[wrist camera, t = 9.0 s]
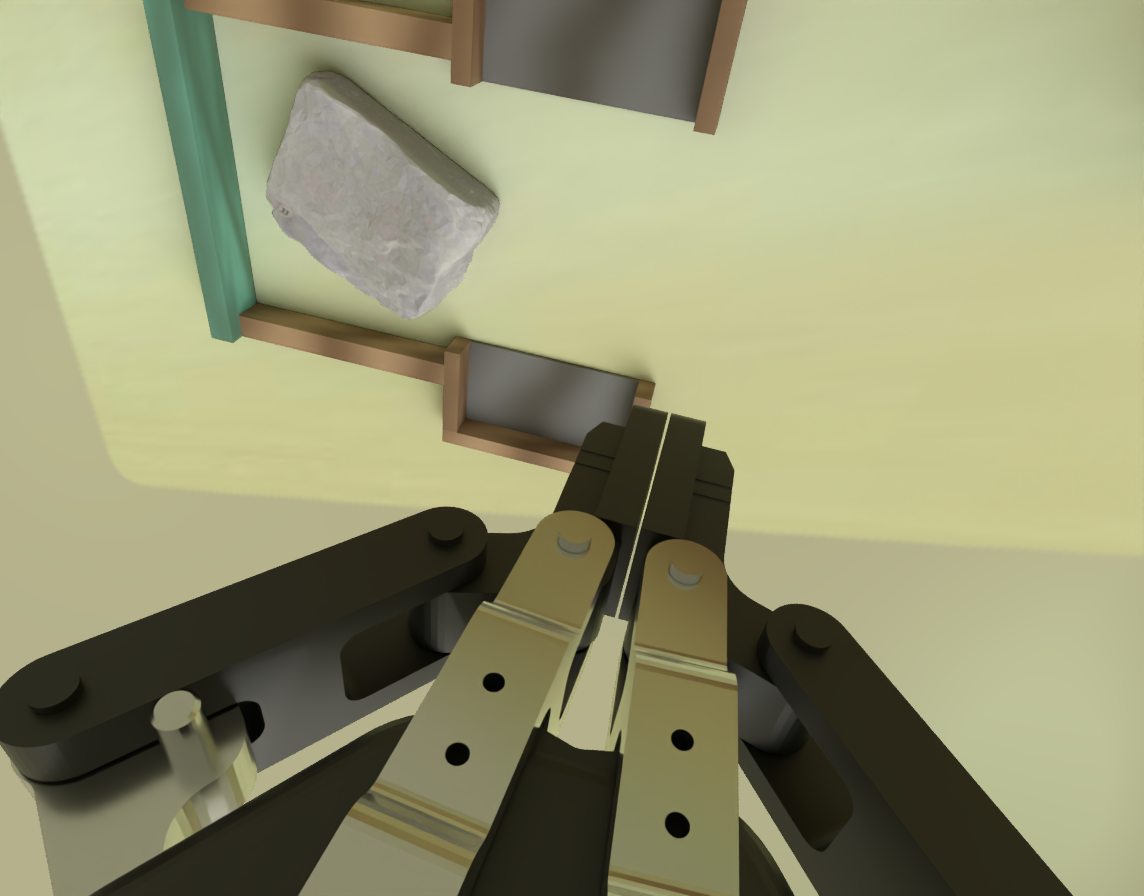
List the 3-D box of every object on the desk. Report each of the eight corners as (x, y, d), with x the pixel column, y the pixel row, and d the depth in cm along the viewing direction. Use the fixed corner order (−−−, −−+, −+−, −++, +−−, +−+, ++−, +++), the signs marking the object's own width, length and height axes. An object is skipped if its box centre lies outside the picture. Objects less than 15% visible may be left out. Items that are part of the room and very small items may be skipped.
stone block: (452, 305, 46) (518, 192, 39) (414, 346, 43) (479, 232, 36) (296, 187, 44) (335, 45, 37) (245, 221, 41) (277, 74, 34)
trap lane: (758, -48, 30) (757, -46, 28) (634, 470, 48) (627, 498, 45) (158, -149, 33) (111, -155, 31) (249, 374, 51) (223, 395, 48)
